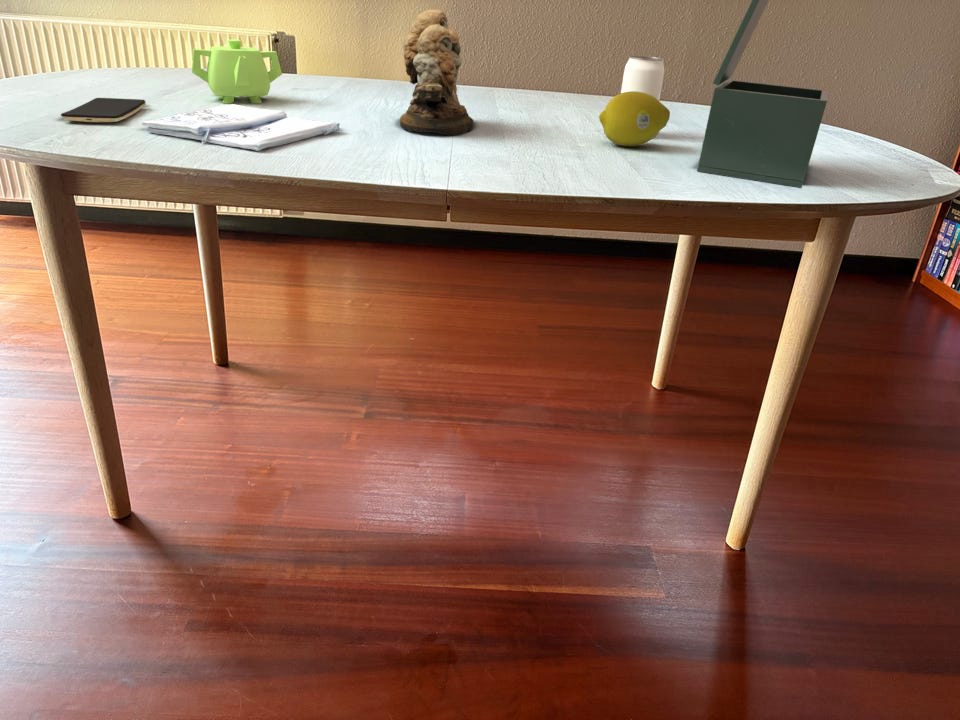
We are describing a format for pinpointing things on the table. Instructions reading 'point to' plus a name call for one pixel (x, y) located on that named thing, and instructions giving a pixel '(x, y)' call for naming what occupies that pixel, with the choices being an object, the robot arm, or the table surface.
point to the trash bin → (762, 131)
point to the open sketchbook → (240, 127)
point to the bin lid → (740, 40)
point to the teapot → (237, 71)
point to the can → (643, 75)
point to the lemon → (633, 118)
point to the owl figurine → (434, 77)
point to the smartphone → (104, 110)
